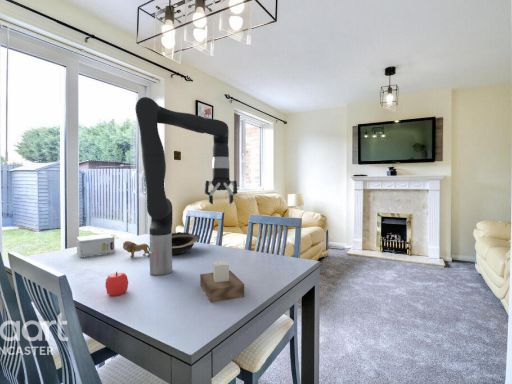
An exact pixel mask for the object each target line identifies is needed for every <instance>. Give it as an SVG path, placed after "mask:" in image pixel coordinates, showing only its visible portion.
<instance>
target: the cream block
mask: <svg viewBox="0 0 512 384" xmlns="http://www.w3.org/2000/svg"><path fill="white" fill-rule="evenodd" d="M212 264H213V266H212V268H213V271H212V273H213V277H214V281H215V282H223V281H229V270H230V269H229V268H230V265H229V263H228V260H217V261H213V263H212Z"/></svg>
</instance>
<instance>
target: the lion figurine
mask: <svg viewBox="0 0 512 384" xmlns="http://www.w3.org/2000/svg"><path fill="white" fill-rule="evenodd" d="M122 248H123V250H124V251H126V252H127V253H131V254H130V258H131V259H134V258H135V252H140V251H143V252H144V253H143V254H142V256H146V254H147V257H149V258H150V245H148V244H147V243H141V244H136V243H135V242H132V241H129V240H126V241H124V242H123V243H122Z"/></svg>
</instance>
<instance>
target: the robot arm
mask: <svg viewBox="0 0 512 384" xmlns="http://www.w3.org/2000/svg"><path fill="white" fill-rule="evenodd" d="M135 115H136V118H137V123H138V127H139V134H140V147H141V160H142V166H143V173H144V178H145V180H144V181H145V186H146V210H147V214H148V215H149V217H150V218H151V219H150V226H149V229H148V230H149V248H150V251H149V252H150V256H149V275H150V276H153V275H154V276H163V275H167V274H170V273H172V272H173V255H172V233H173V232H172V231H173V230H172V228H173V204H172V202H171V200H170V199H169V198H168V197H167V194H166V189H165V181H166V171H167V166H166V165H167V163H166V155H165V154H166V153H165V150H164V149H165V148H164V146H163V142H162V139H161V136H160V133H159V127H158V124H161V125H162V124H163V125H168V126H173V127H178V128H181V129H184V130H187V131H191V132H195V133H197V134H198V133H199V134H208V135H210V136H213V139H212V140H213V146H212V163H211V165H212V166H211V168H212V169H211V170H212V178H211V180H205V182H204V194H205V195H208V202H209V204H210V205H213V204H214V196H213V195H214V193H215V192H216V191H226V192H228V194H229V195H228V203H229V204H230V205H231V204H233V202H234V195H236V194H238V184H237V182H238V181H237V180H231V179H230V157H229V153H230V151H229V125H228V124H227V123H226V122H225V121H223V120H219V119H216V118H215V119H214V118H208V117H203V116H201V115H196V114H193V113H188V112H179V111H174V110H171V109H167V108H165V107H163V106H161V105H159V104H158V103H157V102H156V101H155V100H154V99H152V98H150V97H147V96H145V97H144V96H143V97H140V98H139V99H138V100H137V102H136V104H135ZM211 185H212V186H213V187H212V188H211V189H210V191H209V187H210V186H211ZM230 185H231V186H232V189H231V188H230ZM232 190H233V191H232Z"/></svg>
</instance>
